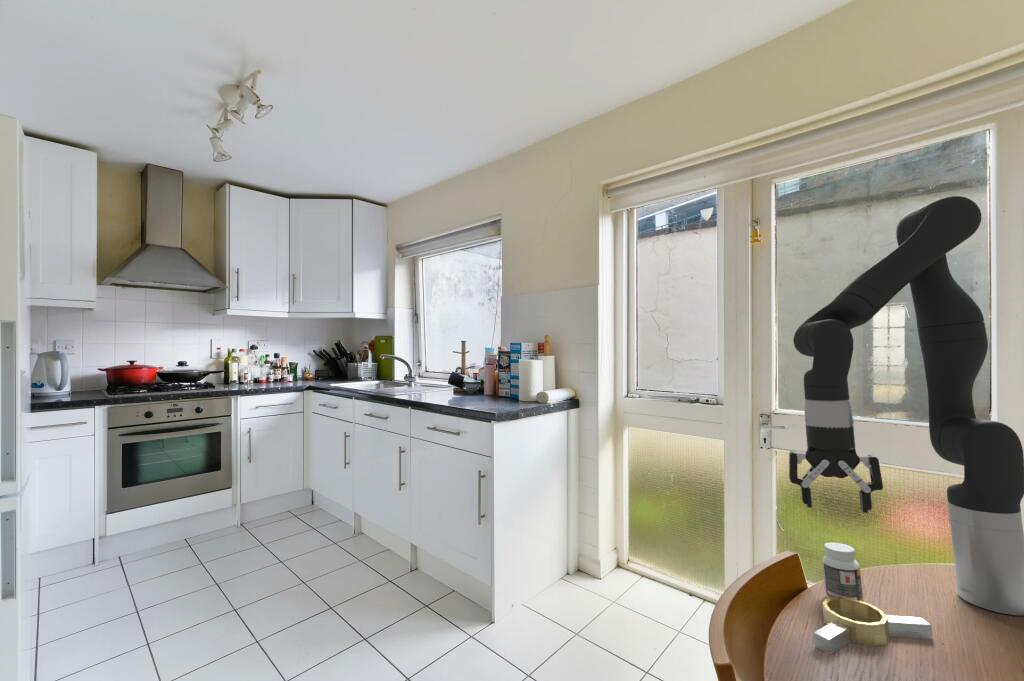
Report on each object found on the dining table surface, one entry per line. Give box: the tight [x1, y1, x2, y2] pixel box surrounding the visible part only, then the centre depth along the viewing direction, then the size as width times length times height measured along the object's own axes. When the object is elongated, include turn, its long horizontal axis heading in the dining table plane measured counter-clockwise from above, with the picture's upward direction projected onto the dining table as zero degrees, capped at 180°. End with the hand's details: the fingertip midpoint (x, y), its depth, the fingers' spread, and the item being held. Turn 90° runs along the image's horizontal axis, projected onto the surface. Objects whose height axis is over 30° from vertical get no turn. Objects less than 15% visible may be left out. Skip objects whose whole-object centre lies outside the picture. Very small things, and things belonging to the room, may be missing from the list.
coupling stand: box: [813, 597, 934, 655], centre depth 73 cm, size 20×9×3 cm, turn 98°
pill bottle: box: [822, 541, 864, 602], centre depth 82 cm, size 6×6×10 cm
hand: (835, 509), depth 83 cm, fingers open, 8 cm apart
